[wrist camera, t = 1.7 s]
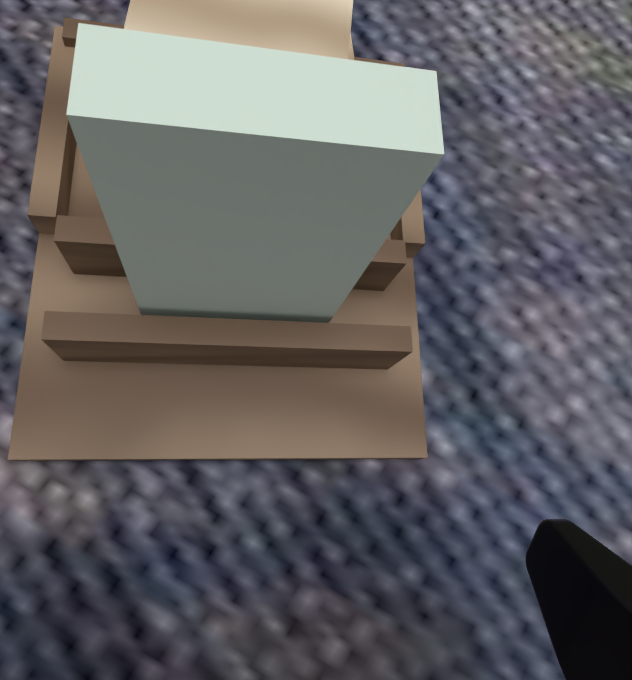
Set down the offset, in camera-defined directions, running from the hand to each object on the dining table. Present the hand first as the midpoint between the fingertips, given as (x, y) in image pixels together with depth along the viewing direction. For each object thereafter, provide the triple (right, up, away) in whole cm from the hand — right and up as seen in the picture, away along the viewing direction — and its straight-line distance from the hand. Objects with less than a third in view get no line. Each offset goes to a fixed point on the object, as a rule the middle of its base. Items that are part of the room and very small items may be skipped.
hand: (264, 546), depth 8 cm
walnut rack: (-3, +6, +16) cm, 17 cm away
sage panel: (-3, +4, +14) cm, 15 cm away
